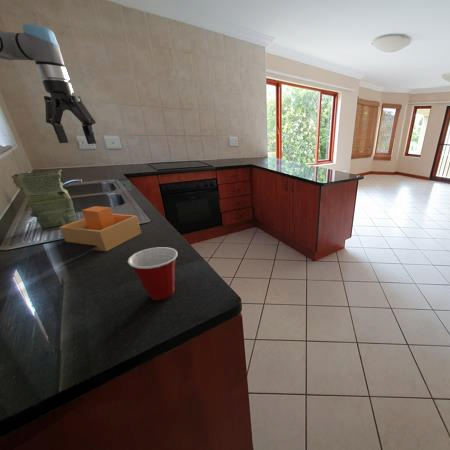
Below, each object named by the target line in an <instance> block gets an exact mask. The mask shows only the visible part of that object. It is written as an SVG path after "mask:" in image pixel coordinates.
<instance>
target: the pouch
mask: <svg viewBox="0 0 450 450" xmlns="http://www.w3.org/2000/svg"><path fill="white" fill-rule="evenodd" d="M62 171H63V170H62V169H60V168H55V169H53V170H46V171H43V172H41V171H40V170H38V169H37V170H36V171H35V172H21V173H16V174H13V175H11V178H12V180H13V184H15V186H16V188H17V189H19V190H20V191H21V192H22V194H23V195H24V196H25V198H26V199H27V203H28V205H29V207H30V209H31V211H32V213H33V214H34V216H35V218H36V222H37V223H38V225H39V226H40V228H41V229H42V230H43V231H56V230H60V228H59V227H61V226H64V225H67V224H69V223H72V222H75V221H77V216H76V211H75V208H74V203H73V202H74V201H73V199H72V198H71V196H70V194H69V191H68V190H67V189H66V188H64V186H63V182H61V178H62V174H61V172H62Z"/></svg>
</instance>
